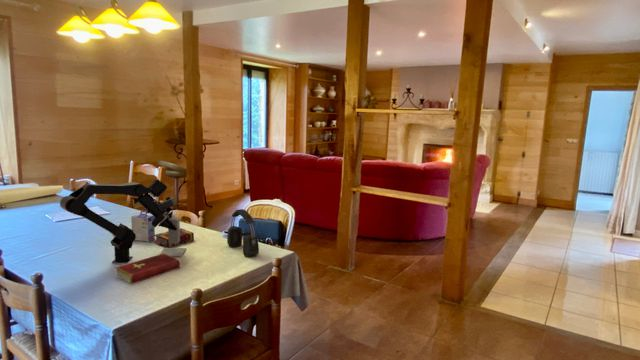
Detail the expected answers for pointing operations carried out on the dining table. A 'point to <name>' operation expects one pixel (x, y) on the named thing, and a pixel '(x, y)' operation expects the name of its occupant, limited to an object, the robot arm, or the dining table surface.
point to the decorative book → (164, 239)
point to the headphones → (249, 240)
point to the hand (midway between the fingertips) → (177, 228)
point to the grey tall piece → (172, 234)
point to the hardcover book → (147, 268)
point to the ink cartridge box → (143, 226)
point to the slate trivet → (174, 251)
